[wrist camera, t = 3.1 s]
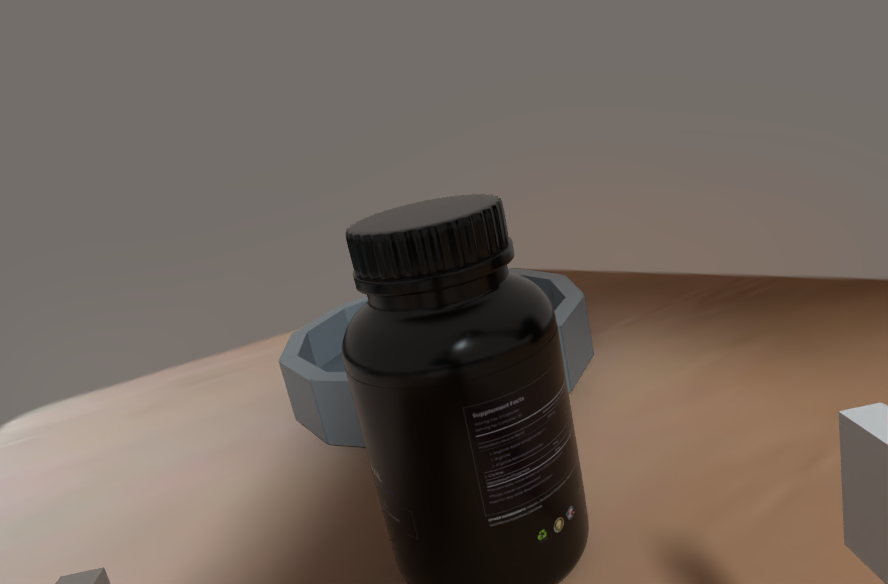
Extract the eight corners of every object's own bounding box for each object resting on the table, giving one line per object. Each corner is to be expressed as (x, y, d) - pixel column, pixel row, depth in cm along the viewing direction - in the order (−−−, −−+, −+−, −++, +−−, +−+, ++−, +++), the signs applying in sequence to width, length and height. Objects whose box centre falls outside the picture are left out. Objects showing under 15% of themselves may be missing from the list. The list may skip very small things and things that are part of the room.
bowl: (617, 313, 42) (610, 261, 41) (531, 458, 28) (516, 383, 27) (392, 322, 50) (382, 278, 49) (236, 437, 36) (217, 379, 35)
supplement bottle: (360, 564, 24) (269, 240, 21) (492, 470, 28) (432, 188, 25) (497, 658, 19) (403, 245, 15) (634, 527, 23) (582, 179, 19)
